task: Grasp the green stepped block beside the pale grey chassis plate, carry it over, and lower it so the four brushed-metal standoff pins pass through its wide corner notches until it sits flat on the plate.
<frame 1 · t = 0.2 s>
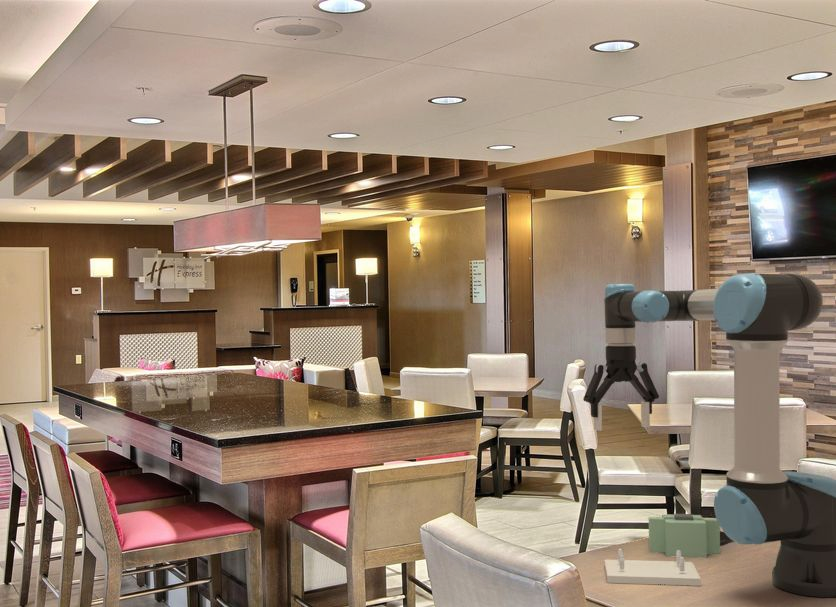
hand: (621, 428, 224), 27 cm above the table, tool pointing down, fingers open, 13 cm apart
chassis: (650, 575, 192), on the table
phone: (711, 543, 218), on the table
green stepped block: (684, 552, 209), on the table
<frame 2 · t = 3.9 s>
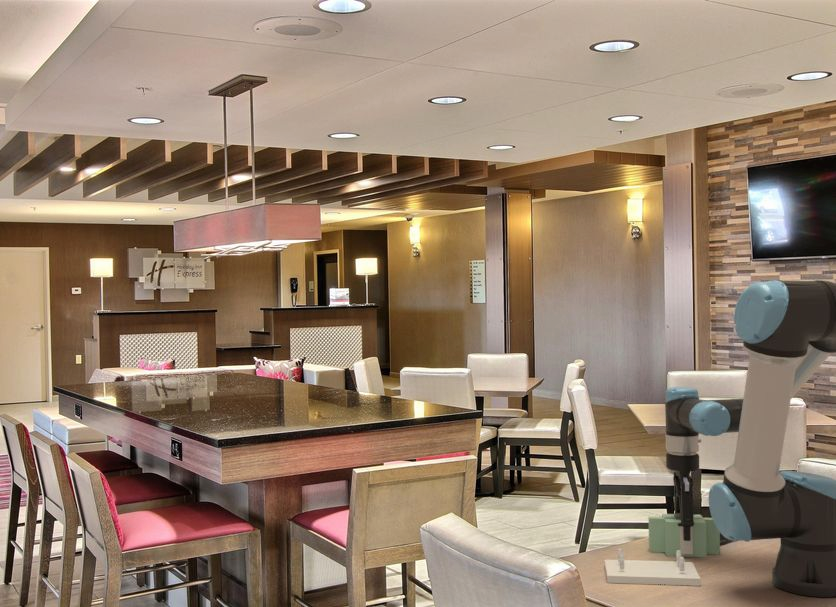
hand: (683, 548, 209), 1 cm above the table, tool pointing down, fingers closed on green stepped block, 8 cm apart
green stepped block: (684, 552, 209), on the table, touching gripper
everything else where it was.
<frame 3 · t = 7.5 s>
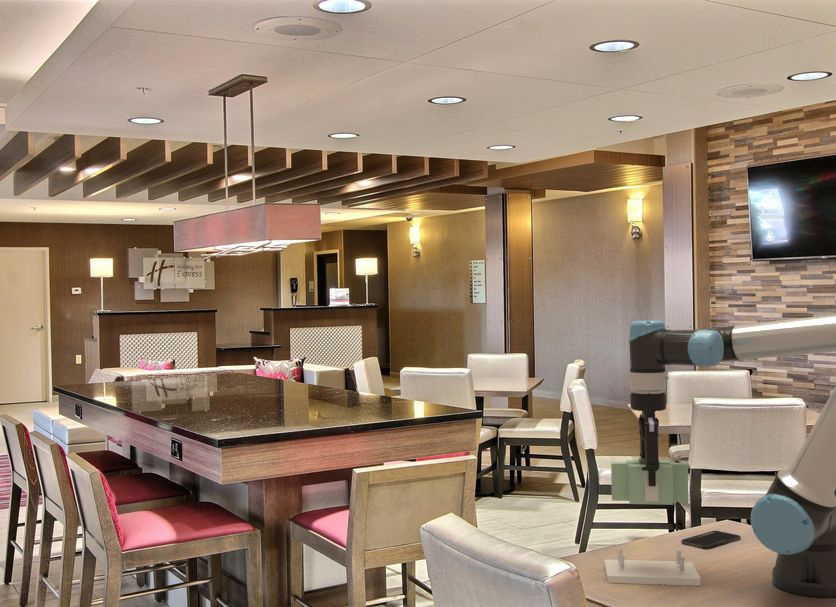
hand: (649, 496, 192), 17 cm above the table, tool pointing down, fingers closed on green stepped block, 8 cm apart
green stepped block: (649, 500, 192), point 16 cm above the table, touching gripper
everything else where it was.
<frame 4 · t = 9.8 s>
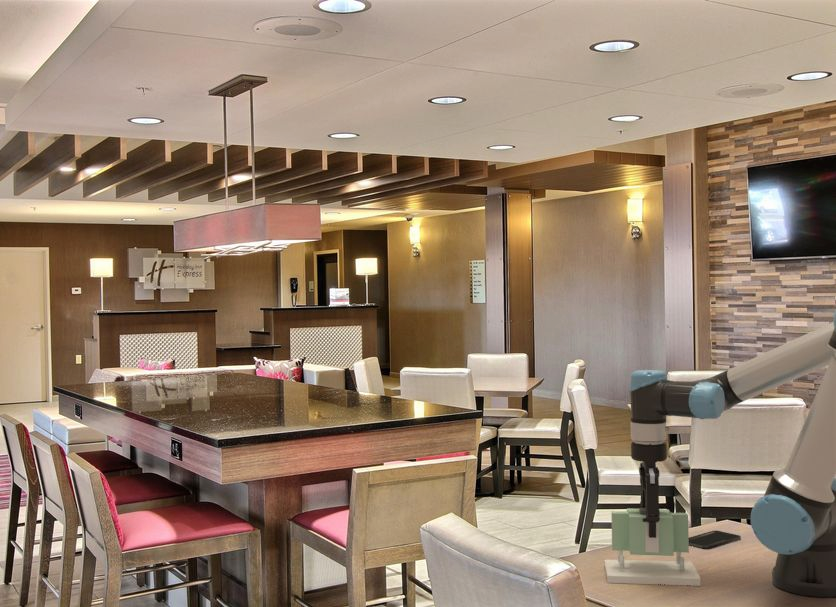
hand: (650, 546, 192), 6 cm above the table, tool pointing down, fingers closed on green stepped block, 8 cm apart
green stepped block: (649, 550, 192), point 6 cm above the table, touching gripper
everything else where it was.
when the fingers open (3 cm above the table, at t = 11.4 s): green stepped block stays where it is, resting on chassis.
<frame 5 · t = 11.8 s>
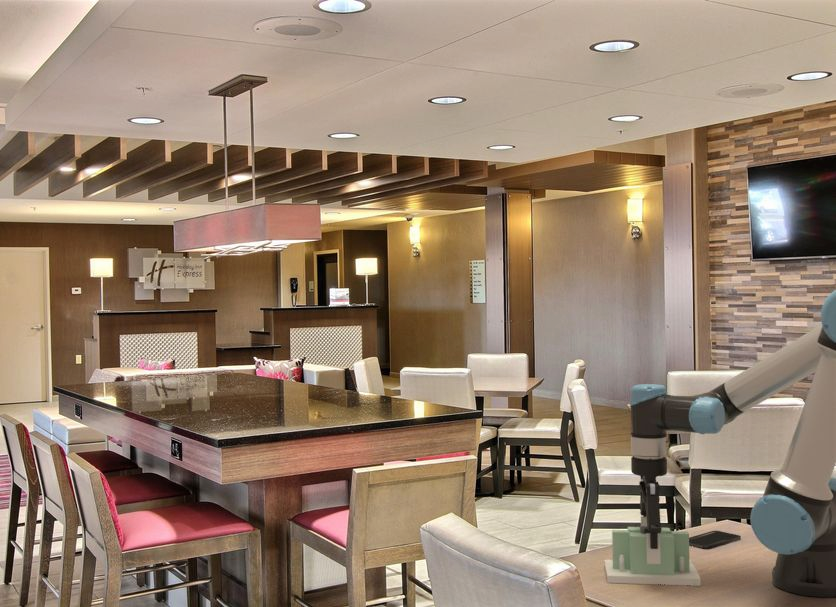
hand: (650, 554, 192), 5 cm above the table, tool pointing down, fingers open, 13 cm apart
green stepped block: (650, 568, 192), point 1 cm above the table, touching chassis
everything else where it was.
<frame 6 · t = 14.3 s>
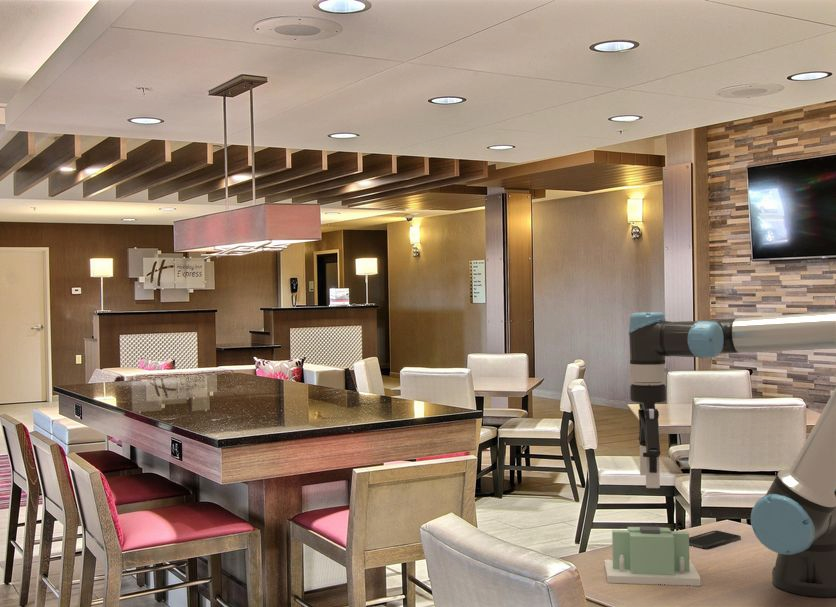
hand: (649, 481, 192), 20 cm above the table, tool pointing down, fingers open, 13 cm apart
nothing on the table moved.
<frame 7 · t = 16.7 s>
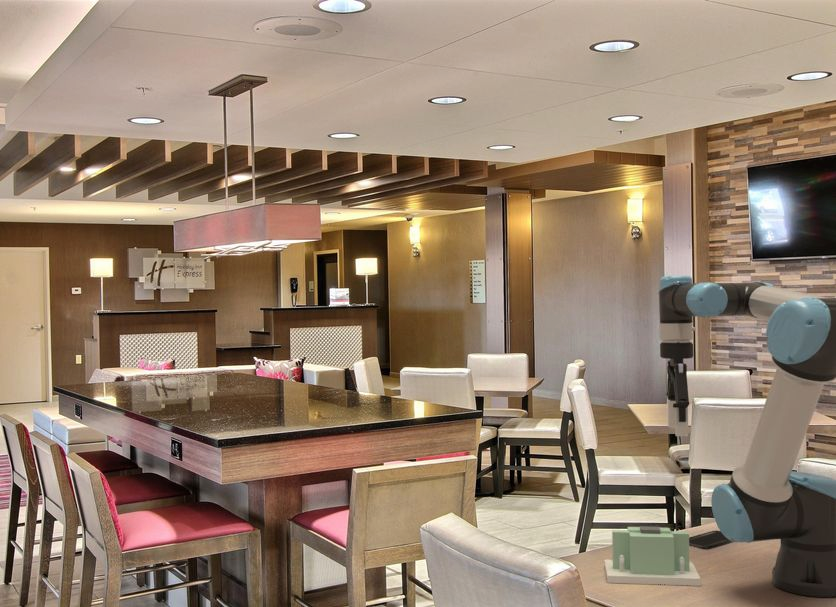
hand: (677, 431, 208), 29 cm above the table, tool pointing down, fingers open, 13 cm apart
nothing on the table moved.
at the end: green stepped block 0.1 cm off-centre on the chassis, point 1.5 cm above the chassis's base; green stepped block tilted 0°; the gripper is holding nothing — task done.
